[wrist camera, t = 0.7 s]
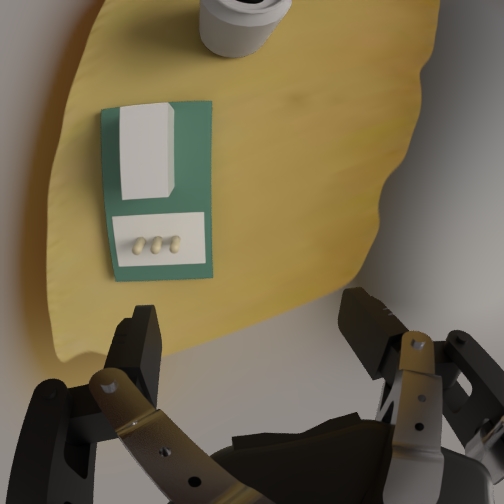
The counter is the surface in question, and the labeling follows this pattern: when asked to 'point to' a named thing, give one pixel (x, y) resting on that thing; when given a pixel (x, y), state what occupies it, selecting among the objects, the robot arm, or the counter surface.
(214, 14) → the can
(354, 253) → the counter surface
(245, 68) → the counter surface
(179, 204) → the board
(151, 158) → the block
